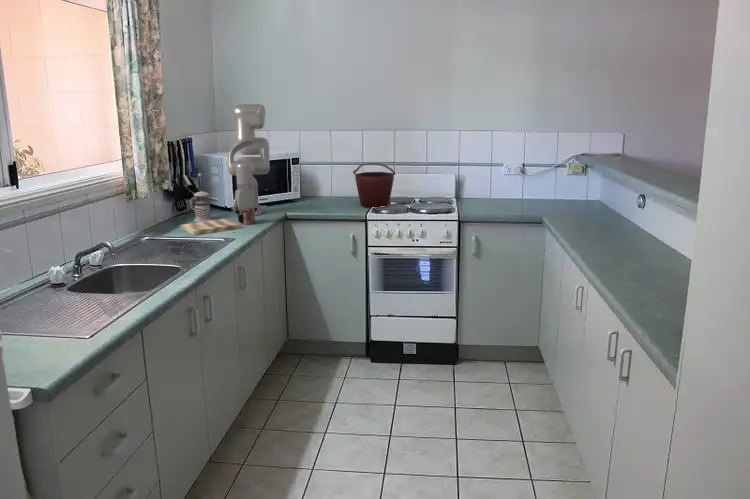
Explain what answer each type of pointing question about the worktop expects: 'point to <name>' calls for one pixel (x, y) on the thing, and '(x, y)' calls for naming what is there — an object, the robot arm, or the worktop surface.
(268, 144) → the robot arm
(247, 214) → the block
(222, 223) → the plywood board
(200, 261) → the worktop surface
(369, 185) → the bucket
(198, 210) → the french press
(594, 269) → the worktop surface
